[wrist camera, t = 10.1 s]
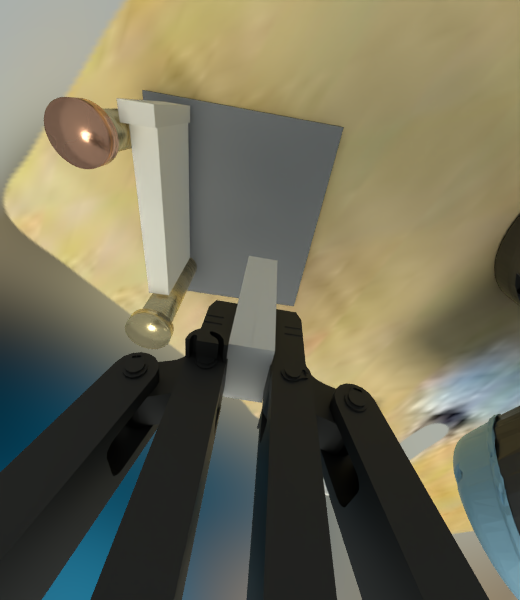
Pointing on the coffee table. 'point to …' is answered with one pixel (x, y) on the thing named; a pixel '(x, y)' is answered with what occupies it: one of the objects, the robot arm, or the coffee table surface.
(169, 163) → the beige piece
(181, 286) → the hinge post
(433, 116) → the coffee table surface
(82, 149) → the brass capped rod
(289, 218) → the mat
